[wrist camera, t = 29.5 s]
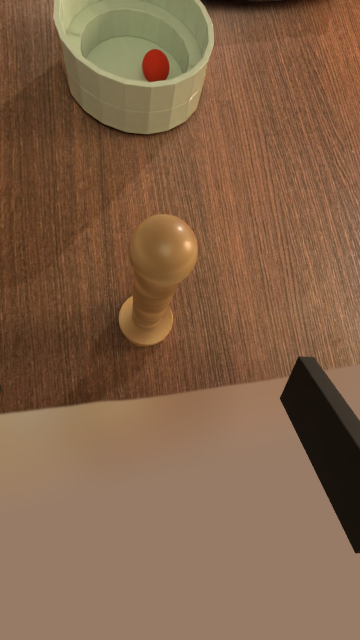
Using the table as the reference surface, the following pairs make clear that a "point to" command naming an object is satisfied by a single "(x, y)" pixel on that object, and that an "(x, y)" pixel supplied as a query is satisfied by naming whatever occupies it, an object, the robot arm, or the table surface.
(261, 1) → the plate
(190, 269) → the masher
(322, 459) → the robot arm
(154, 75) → the tomato
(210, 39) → the bowl
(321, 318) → the table surface
